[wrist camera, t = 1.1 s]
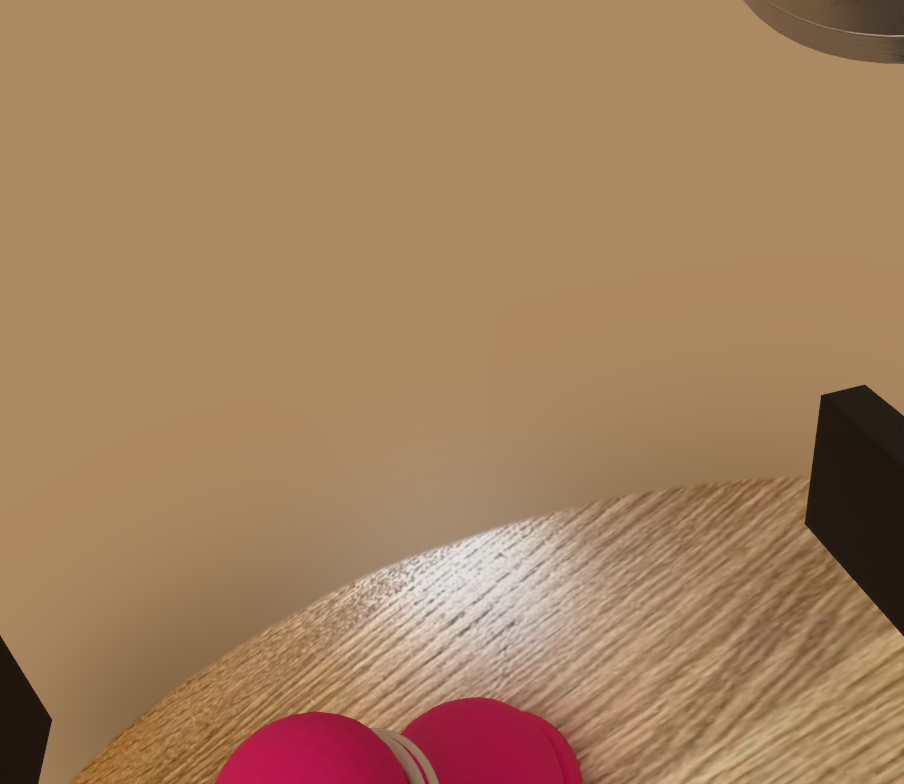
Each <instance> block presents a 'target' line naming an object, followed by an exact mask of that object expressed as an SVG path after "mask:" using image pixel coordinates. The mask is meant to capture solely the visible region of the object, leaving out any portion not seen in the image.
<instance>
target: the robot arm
mask: <svg viewBox="0 0 904 784" xmlns="http://www.w3.org/2000/svg"><path fill="white" fill-rule="evenodd" d="M805 525H806V526H807V527H808V528H809V529H810V530H811V531H812V533H813V534H814V535H815V536H816V537H817V538H818V539H819V540H820V542H821V543H822V544H823V545H824V546H825V547H826V548H827V550H828V551H829V552H830V553H831V554H832V555H833V556H834V558H835V559H836V560H837V561H838V562H839V563H840V564H841V566H842V567H843V568H844V569H845V570H846V571H847V572H848V573H849V575H850V576H851V577H852V578H853V579H854V580H855V581H856V583H857V584H858V585H859V586H860V587H861V588H862V589H863V591H864V592H865V593H866V594H867V595H868V596H869V597H870V598H871V600H872V601H873V602H874V603H875V604H876V605H877V606H878V608H879V609H880V610H881V611H882V612H883V613H884V614H885V616H886V617H887V618H888V619H889V620H890V621H891V622H892V624H893V625H894V626H895V627H896V628H897V629H898V630H899V631H900V633H901V634H902V635H903V636H904V416H903V415H901V413H899V412H898V411H897V410H896V409H894V408H893V407H892V406H891V405H889V404H888V403H887V402H886V401H884V400H883V399H882V398H881V397H879V396H878V395H877V394H876V393H875V392H873V391H872V390H871V389H870V388H868V387H867V386H866V385H862V386H857V387H854V388H849V389H845V390H841V391H837V392H833V393H829V394H824V395H821V402H820V409H819V417H818V425H817V433H816V441H815V448H814V456H813V464H812V472H811V479H810V487H809V495H808V503H807V511H806V518H805ZM51 722H52V719H51V717H50V716H49V714H48V712H47V711H46V709H45V707H44V706H43V704H42V703H41V701H40V699H39V698H38V696H37V694H36V693H35V691H34V690H33V688H32V687H31V685H30V683H29V681H28V680H27V678H26V677H25V675H24V673H23V672H22V670H21V669H20V667H19V665H18V664H17V662H16V660H15V659H14V657H13V656H12V654H11V652H10V651H9V649H8V647H7V646H6V644H5V643H4V641H3V639H2V638H1V636H0V784H38V782H39V777H40V773H41V768H42V764H43V759H44V754H45V750H46V745H47V741H48V736H49V731H50V727H51Z"/></svg>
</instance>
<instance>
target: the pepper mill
mask: <svg viewBox="0 0 904 784" xmlns="http://www.w3.org/2000/svg"><path fill="white" fill-rule="evenodd" d="M214 784H582V778H581V773H580V769H579V765H578V763H577V760H576V757H575V755H574V753H573V751H572V749H571V747H570V746H569V744H568V743H567V741H566V739H565V738H564V737H563V736H562V735H561V733H560V732H559V731H558V730H557V729H556V728H555V727H554V726H552V725H551V724H550V723H548V722H547V721H545V720H544V719H542V718H540V717H538V716H536V715H533V714H531V713H527V712H522V711H520V710H518V709H516V708H514V707H512V706H510V705H508V704H506V703H503V702H500V701H497V700H494V699H489V698H481V697H476V698H464V699H459V700H454V701H450V702H445V703H443V704H440V705H438V706H436V707H433V708H432V709H430V710H429V711H427V712H426V713H424V714H423V715H421V716H420V717H418V718H417V719H415V720H414V721H413V722H412V723H410V724H409V725H408V726H407V727H406V728H405V730H404V731H403V732H402V733H401V734H398V733H396V732H393V731H390V730H385V729H379V728H368V727H366V726H365V725H363V724H361V723H360V722H358V721H356V720H354V719H351V718H348V717H345V716H342V715H339V714H331V713H323V712H310V713H303V714H296V715H290V716H288V717H285V718H282V719H279V720H277V721H274V722H272V723H270V724H268V725H267V726H265V727H263V728H261V729H259V730H258V731H257V732H255V733H254V734H253V735H251V736H250V737H249V738H248V739H246V740H245V741H244V742H243V743H242V744H241V745H240V746H239V747H238V748H237V750H236V751H235V752H234V753H233V754H232V756H231V757H230V758H229V759H228V761H227V762H226V763H225V765H224V766H223V768H222V770H221V772H220V774H219V776H218V778H217V779H216V781H215V783H214Z"/></svg>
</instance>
